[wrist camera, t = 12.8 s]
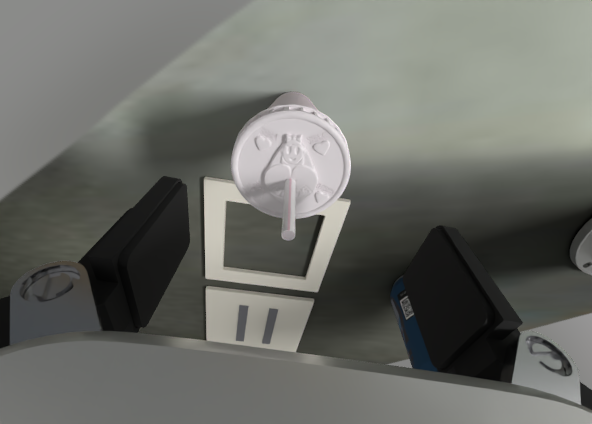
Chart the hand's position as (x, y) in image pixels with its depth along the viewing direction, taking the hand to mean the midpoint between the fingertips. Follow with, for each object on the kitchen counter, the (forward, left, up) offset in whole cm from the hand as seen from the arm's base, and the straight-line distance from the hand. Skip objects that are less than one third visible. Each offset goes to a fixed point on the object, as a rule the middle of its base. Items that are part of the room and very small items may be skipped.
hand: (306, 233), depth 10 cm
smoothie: (+1, 0, -15) cm, 15 cm away
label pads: (+1, +22, -14) cm, 26 cm away
